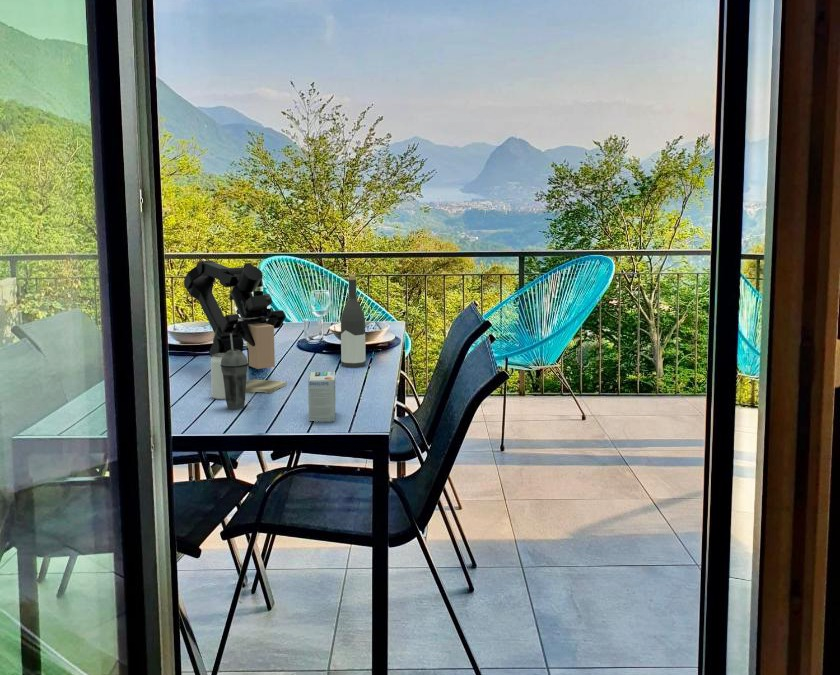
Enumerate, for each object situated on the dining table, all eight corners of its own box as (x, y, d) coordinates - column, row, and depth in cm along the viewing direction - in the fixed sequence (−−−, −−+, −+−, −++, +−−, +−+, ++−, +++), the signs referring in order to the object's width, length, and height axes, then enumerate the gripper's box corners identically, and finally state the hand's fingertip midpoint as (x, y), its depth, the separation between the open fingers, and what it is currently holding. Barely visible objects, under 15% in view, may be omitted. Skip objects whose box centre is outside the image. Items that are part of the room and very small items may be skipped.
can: (229, 400, 241) (228, 357, 239) (208, 399, 242) (206, 356, 240) (239, 395, 247) (237, 353, 245) (217, 394, 248) (216, 352, 246)
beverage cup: (254, 405, 235) (252, 331, 231) (240, 411, 228) (238, 335, 225) (231, 403, 237) (228, 330, 234) (216, 409, 230) (213, 334, 227)
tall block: (248, 365, 254) (247, 325, 252) (265, 363, 257) (264, 323, 255) (257, 368, 250) (256, 327, 247) (274, 366, 253) (273, 325, 251)
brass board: (234, 391, 252) (234, 387, 251) (252, 383, 262) (252, 379, 262) (269, 393, 249) (269, 389, 248) (286, 385, 259) (286, 381, 259)
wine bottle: (370, 364, 291) (369, 274, 286) (356, 368, 284) (354, 276, 279) (351, 362, 295) (349, 273, 290) (336, 366, 288) (334, 275, 283)
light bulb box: (310, 412, 227) (309, 371, 226) (336, 411, 228) (335, 371, 226) (308, 422, 217) (307, 380, 215) (335, 421, 217) (335, 379, 216)
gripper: (223, 286, 247) (241, 330, 240) (282, 282, 258) (301, 324, 251) (212, 311, 254) (230, 354, 248) (270, 306, 266) (288, 347, 259)
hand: (263, 344), depth 251 cm, fingers closed on tall block, 5 cm apart
